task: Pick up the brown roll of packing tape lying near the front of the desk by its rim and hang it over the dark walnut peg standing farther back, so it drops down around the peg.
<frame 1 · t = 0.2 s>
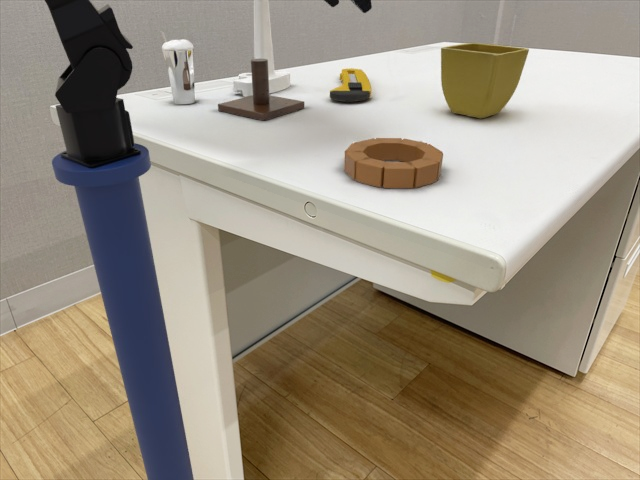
hand: (350, 7, 61), 14 cm above the table, tool tilted 30°, fingers open, 9 cm apart
peg: (261, 109, 74), on the table
milkshake: (183, 103, 78), on the table
utility knife: (348, 89, 87), on the table
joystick: (258, 90, 86), on the table
flower pot: (474, 115, 72), on the table
tape: (392, 170, 52), on the table
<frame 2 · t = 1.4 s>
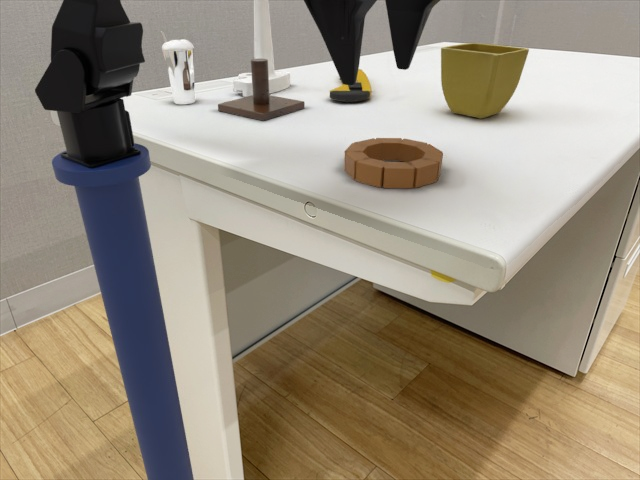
hand: (377, 76, 44), 10 cm above the table, tool pointing down, fingers open, 9 cm apart
nothing on the table moved.
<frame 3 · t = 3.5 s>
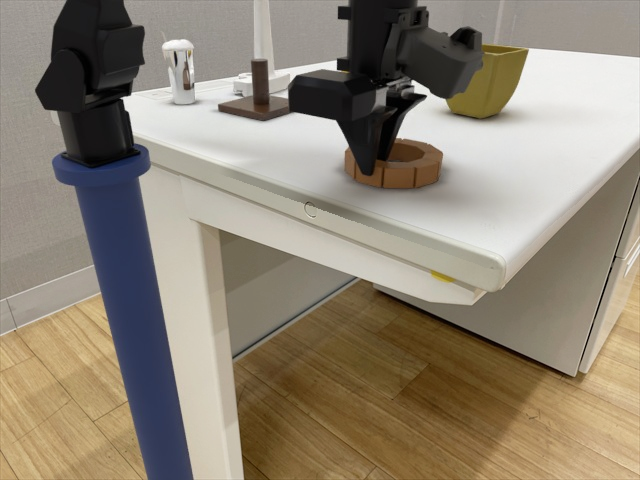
hand: (373, 171, 48), 1 cm above the table, tool pointing down, fingers closed on tape, 2 cm apart
tape: (392, 170, 52), on the table, touching gripper
everything else where it was.
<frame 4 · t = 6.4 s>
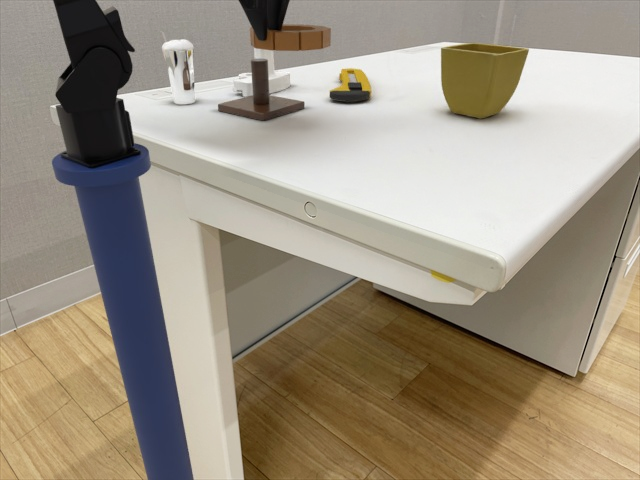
hand: (268, 39, 59), 11 cm above the table, tool pointing down, fingers closed on tape
tape: (290, 45, 62), point 10 cm above the table, touching gripper
everything else where it was.
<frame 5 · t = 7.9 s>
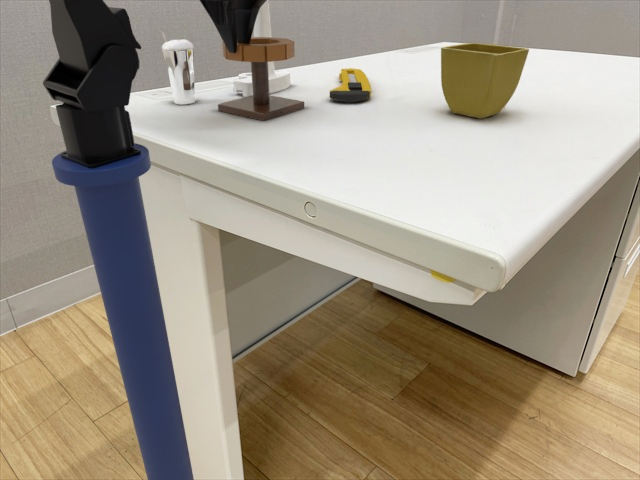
hand: (238, 52, 67), 8 cm above the table, tool pointing down, fingers closed on tape
tape: (259, 56, 70), point 7 cm above the table, touching gripper
everything else where it was.
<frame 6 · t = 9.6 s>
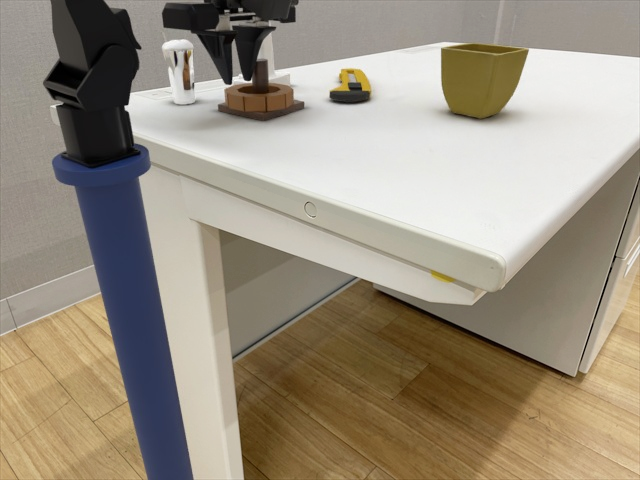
hand: (238, 82, 68), 5 cm above the table, tool pointing down, fingers open, 3 cm apart
tape: (259, 103, 73), point 1 cm above the table, touching peg
everything else where it was.
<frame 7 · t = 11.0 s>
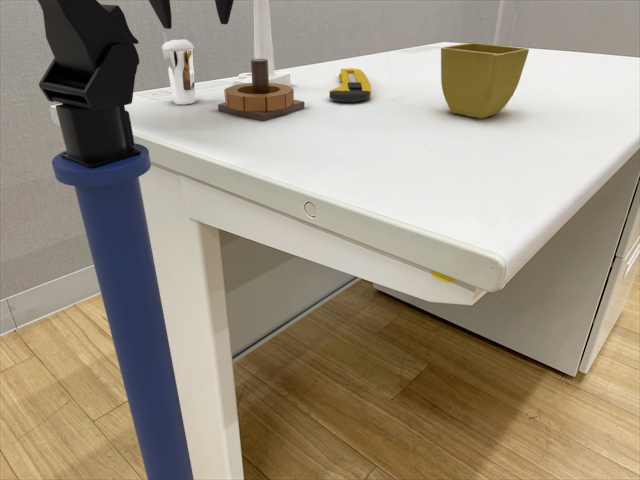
hand: (197, 26, 64), 12 cm above the table, tool pointing down, fingers open, 9 cm apart
nothing on the table moved.
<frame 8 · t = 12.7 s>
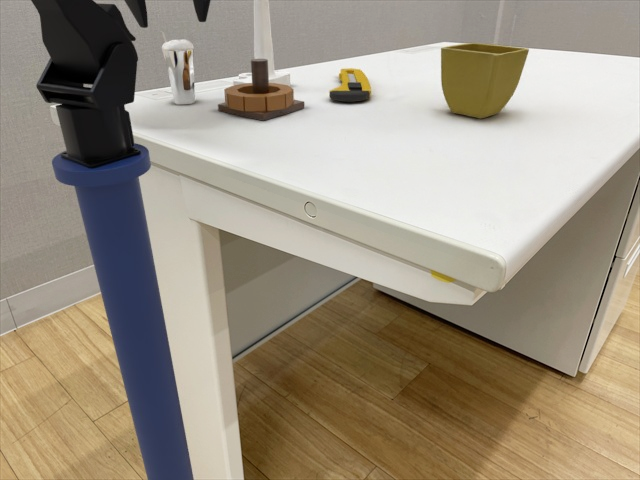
hand: (174, 24, 64), 12 cm above the table, tool pointing down, fingers open, 9 cm apart
nothing on the table moved.
at the end: tape 0.5 cm off-centre on the peg, point 1.0 cm above the peg's base; the gripper is holding nothing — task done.
